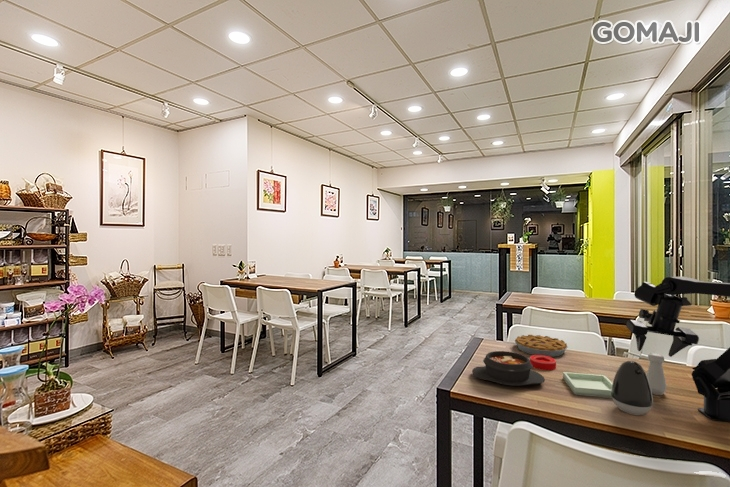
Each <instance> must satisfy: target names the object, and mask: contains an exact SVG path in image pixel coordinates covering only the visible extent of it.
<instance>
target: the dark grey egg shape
mask: <svg viewBox="0 0 730 487" xmlns="http://www.w3.org/2000/svg"><path fill="white" fill-rule="evenodd" d="M613 377H614V378H613V381H612V383H613V384H612V389H611V396H612V397H613V398H612V400H613V402H614V405H615V406H616V407H617V408H618V409H620V410H621V411H622V412H624V413H627V414H629V415H634V416H641V415H642V416H643V415H645V414H647V413H648V412H650V410H651V409H652V406H653V405H654V398H653V394H652V391H651V387H650V383H649V380H648V377H647V372H646V371H645V370H644V367H642V365H641V364H640V363H638V362H636V361H634V360H626V361H623V362H622V363H621V365H619V367H618V368H617V370H616V372H615V375H614V376H613Z"/></svg>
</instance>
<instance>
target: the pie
mask: <svg viewBox="0 0 730 487" xmlns="http://www.w3.org/2000/svg"><path fill="white" fill-rule="evenodd" d="M514 342H515V344H516V346H517V347H518V350H519V351H521V350H522V351H521V352H523V353H527V354H530V355H532V356H533V355H544V356H548V357H551V358H553V357H554V356H555V357H559V356H562V355H563V354H564V352H565V351H566V350H567V348H569V346H568V344H567V343H566V342H565V341H564V340H563V339H560V340H559V338H554V337H550V336H548V335H545V336H542V335H540V334H539V335H534V334H527V335H524V334H523V335H522V334H521V335H520V336H517V337H516V338H515V340H514Z"/></svg>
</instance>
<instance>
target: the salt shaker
mask: <svg viewBox="0 0 730 487" xmlns="http://www.w3.org/2000/svg"><path fill="white" fill-rule="evenodd" d="M647 359H648V361H649V365H648V369H647V372H646V375H647V377H648V380H649V383H650V387H651V391H652V395H656V396H663V395H664V393H665V392H666V391H667V389H668V387H667V386H668V385H667V382H666V376H665V372H664V367H663V364H664V363H665V357H664V356H663V355H662V354H659V353H651V352H650V353H649V354H648V356H647Z"/></svg>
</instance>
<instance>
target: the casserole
mask: <svg viewBox="0 0 730 487" xmlns="http://www.w3.org/2000/svg"><path fill="white" fill-rule="evenodd" d="M483 363H484V365H483V366H475V367H474V368H472V371H471V372H472V374H473V376H474V377H475V378H477V379H479V380H482V381H483V380H484V381H489V382H493V383H497V384H500V385H503V386H511V387H513V386H514V387H516V386H517V387H518V386H527V385H540V384H543V383H545V379H546V378H545V377H544V376H543V375H542V374H541V373H539V372H538V371H536V370H533V368H534V367H533V366H532V364H531V363H530V358H528V356H526V355H523V354H521V353H516V352H512V351H508V350H507V351H503V350H498V351H497V350H495V351H489V352H488V353H486V354H485V357H484V358H483Z"/></svg>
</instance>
